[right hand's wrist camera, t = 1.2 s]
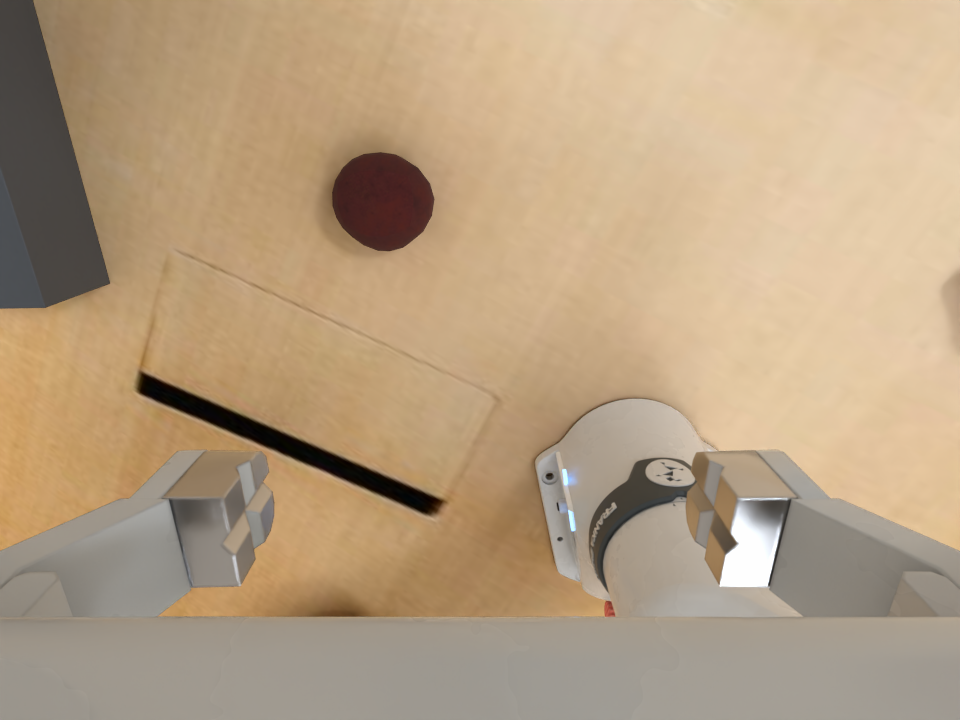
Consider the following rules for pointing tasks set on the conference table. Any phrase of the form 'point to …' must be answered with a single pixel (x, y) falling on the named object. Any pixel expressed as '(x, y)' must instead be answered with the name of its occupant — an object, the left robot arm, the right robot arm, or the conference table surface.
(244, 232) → the conference table surface
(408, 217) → the dark red plum
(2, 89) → the bar
